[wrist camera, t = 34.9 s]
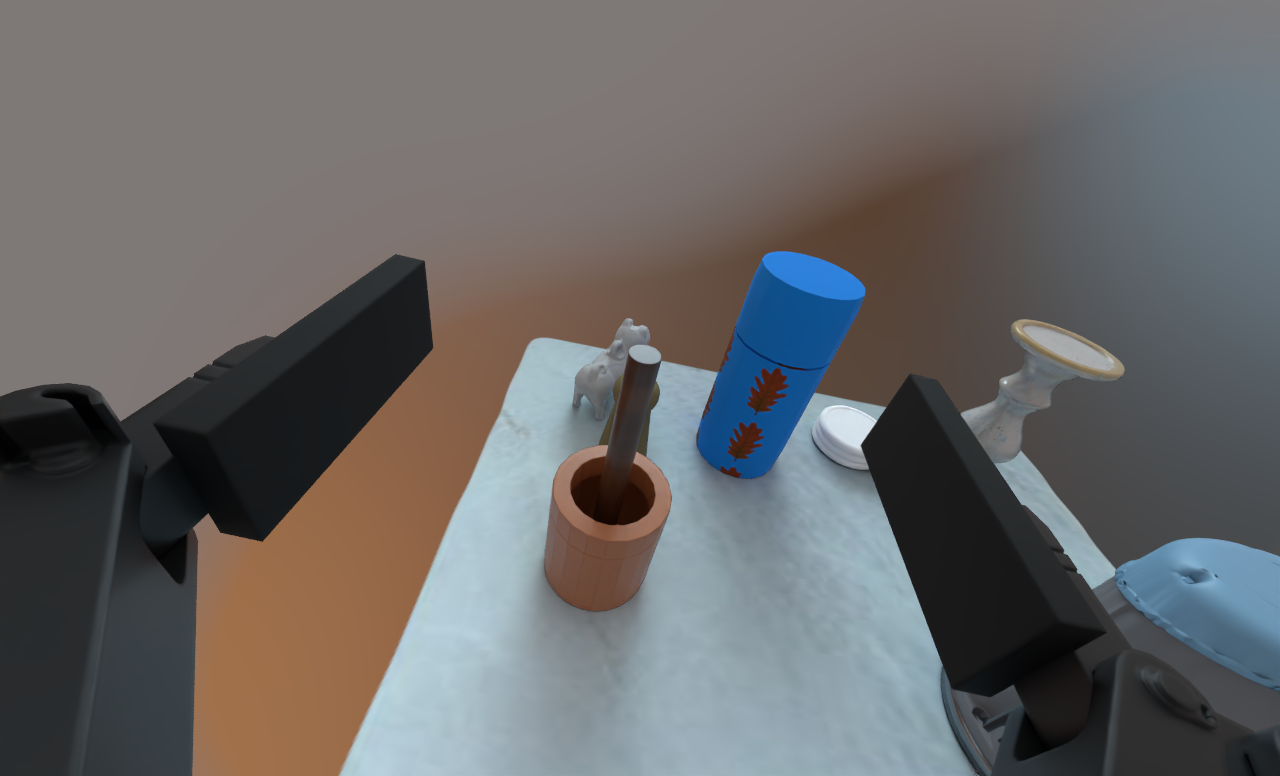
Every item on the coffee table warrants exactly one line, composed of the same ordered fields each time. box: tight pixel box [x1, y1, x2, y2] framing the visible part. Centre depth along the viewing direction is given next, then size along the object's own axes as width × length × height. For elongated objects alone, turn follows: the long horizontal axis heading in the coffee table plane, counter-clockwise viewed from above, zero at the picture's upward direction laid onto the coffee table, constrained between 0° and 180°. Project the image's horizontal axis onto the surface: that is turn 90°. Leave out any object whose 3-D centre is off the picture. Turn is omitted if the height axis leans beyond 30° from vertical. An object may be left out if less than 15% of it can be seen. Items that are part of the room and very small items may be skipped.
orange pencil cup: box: [544, 445, 672, 611], centre depth 42 cm, size 10×10×11 cm
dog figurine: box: [573, 319, 650, 420], centre depth 62 cm, size 5×13×11 cm, turn 148°
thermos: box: [697, 252, 865, 479], centre depth 54 cm, size 11×11×25 cm
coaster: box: [812, 406, 877, 470], centre depth 65 cm, size 10×10×4 cm
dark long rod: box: [592, 345, 662, 525], centre depth 37 cm, size 4×4×24 cm
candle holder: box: [960, 320, 1125, 463], centre depth 55 cm, size 11×11×24 cm
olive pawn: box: [598, 374, 660, 457], centre depth 54 cm, size 6×6×11 cm
